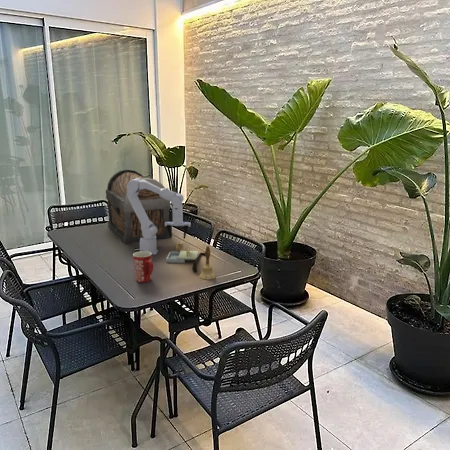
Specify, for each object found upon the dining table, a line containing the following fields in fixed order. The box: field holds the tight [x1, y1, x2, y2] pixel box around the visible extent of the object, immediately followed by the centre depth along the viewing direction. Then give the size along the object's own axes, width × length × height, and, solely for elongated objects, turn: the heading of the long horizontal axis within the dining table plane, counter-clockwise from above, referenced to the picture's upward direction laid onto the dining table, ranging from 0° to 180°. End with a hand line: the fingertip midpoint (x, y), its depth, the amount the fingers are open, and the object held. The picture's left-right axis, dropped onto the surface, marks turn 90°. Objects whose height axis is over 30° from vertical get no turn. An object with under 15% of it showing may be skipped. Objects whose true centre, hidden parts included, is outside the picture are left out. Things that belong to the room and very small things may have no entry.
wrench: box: [191, 252, 206, 273], centre depth 227 cm, size 5×5×30 cm
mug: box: [132, 250, 154, 283], centre depth 202 cm, size 13×9×14 cm
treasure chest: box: [105, 169, 171, 245], centre depth 278 cm, size 45×32×40 cm
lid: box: [178, 246, 199, 261], centre depth 233 cm, size 10×12×4 cm
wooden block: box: [175, 241, 184, 252], centre depth 243 cm, size 4×4×6 cm
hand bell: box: [198, 245, 217, 281], centre depth 208 cm, size 8×8×16 cm
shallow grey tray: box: [165, 251, 186, 264], centre depth 234 cm, size 10×12×2 cm
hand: (177, 238), depth 239 cm, fingers open, 7 cm apart
